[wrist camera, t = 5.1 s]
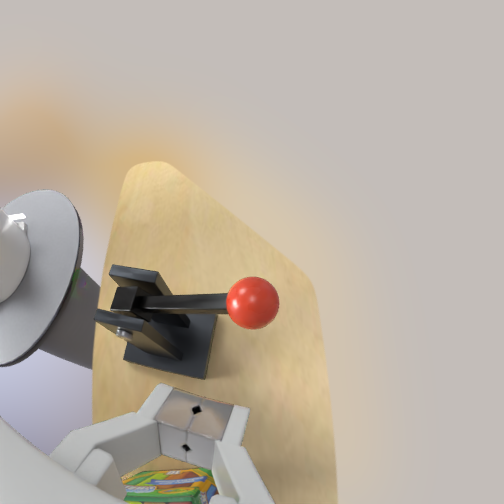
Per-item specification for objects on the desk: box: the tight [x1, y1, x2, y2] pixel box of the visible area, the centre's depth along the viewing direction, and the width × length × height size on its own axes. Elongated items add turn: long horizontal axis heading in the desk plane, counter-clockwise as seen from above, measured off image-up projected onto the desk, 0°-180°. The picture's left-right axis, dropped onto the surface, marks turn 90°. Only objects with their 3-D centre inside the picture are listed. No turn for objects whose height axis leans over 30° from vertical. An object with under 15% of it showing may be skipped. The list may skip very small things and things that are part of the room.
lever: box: [110, 277, 279, 329], centre depth 20 cm, size 14×3×3 cm, turn 82°
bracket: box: [94, 265, 217, 380], centre depth 26 cm, size 10×8×14 cm
